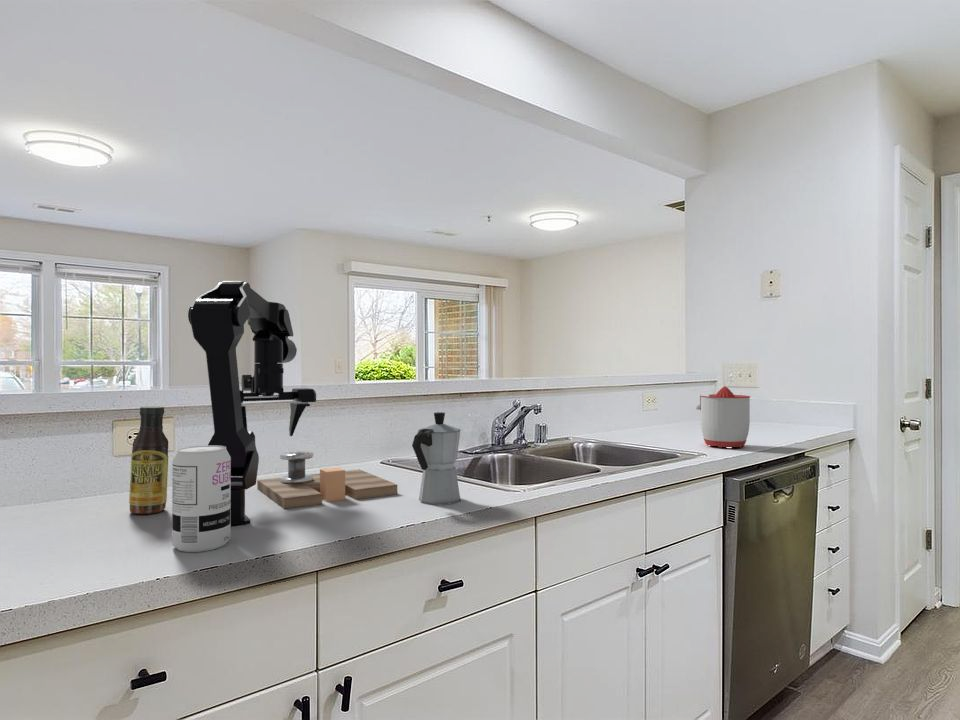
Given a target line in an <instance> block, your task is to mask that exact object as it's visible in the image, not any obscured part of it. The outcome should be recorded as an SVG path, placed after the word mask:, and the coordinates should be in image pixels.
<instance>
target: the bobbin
mask: <svg viewBox="0 0 960 720" xmlns="http://www.w3.org/2000/svg"><path fill="white" fill-rule="evenodd" d="M279 458H280V460H285V461H287V469H288V470H287V475H283V476H281V478H280V477H279V478H280V483H283V484H303V483H309V482H312V481H313V476H312V475H309V474H306V460H308V459H312V458H314V452H312V451H303V450H302V451H301V450H300V451H288V452H287V451H286V452H281V453H280V454H279Z"/></svg>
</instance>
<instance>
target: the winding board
mask: <svg viewBox="0 0 960 720" xmlns="http://www.w3.org/2000/svg"><path fill="white" fill-rule="evenodd" d="M308 475H312V476H313V481H312V482H309V483H303V484H283V483H280V478H281V477H282V476H281V477H272V478H271V477H270V478H261V479H256V485H257V487H256V488H257V490H258V491H259V492H261V493H262V494H263V495H264V496H266V497H268V499H270V500H271V501H273V502H274V503H275V504H276V505H278V506H280V507H281V508H282V509H291V508H292V509H294V508H299V507H300V508H301V507H306V506H308V507H309V506H315V505H316V506H317V505H321V504H322V503H323V499H322V494H321V493H320V472H318V473H310V474H309V473H308ZM392 495H393V496H394V495H398V484H397V483H395V482H392V481H389V480H387V479H384V478H382V477H379V476H377V475H374V474H372V473H370V472H367V471H365V470H361V469H351V470H349V469H348V470H345V496H348V497H350V498H351V499H354V500H361V499H368V498H377V497H383V496H384V497H385V496H392Z"/></svg>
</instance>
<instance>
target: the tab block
mask: <svg viewBox="0 0 960 720" xmlns="http://www.w3.org/2000/svg"><path fill="white" fill-rule="evenodd" d="M345 471H346V470H345V469H344V468H342V467H339V466H337V467H329V468H320V469H319V473H320V493H321V494H322V501H324V502H332V501H340V500H346V494H345Z"/></svg>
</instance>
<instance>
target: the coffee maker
mask: <svg viewBox="0 0 960 720" xmlns="http://www.w3.org/2000/svg"><path fill="white" fill-rule="evenodd" d="M433 415H434V424H431V425H428V426H425V427H423V428H420V429H418V430H417V431H418V432H417V434H415V435H414V437H413V440H412V444H411V447H412V449H413V451H414V454H415V456H416V458H417V462H418V465H419V466H420V468H421V470H422V475H421V476H422V477H421V483H420V490H419V495H418V500H419V502H420V503H421V504H425V503H426V505H432V504H433V505H434V506H438V505H437V504H442V505H450V504H449V503H453V504H455V503H454V502H456V503H457V501H458V502H460V501H459V500H461V495H460V487H459V481H458V475H457V468H456V466H455V462H456V461H457V460H458V452H459V445H460V437H461V428H458V427H455V426H451V425H449V424H445V423H444V421H445V415H446V412H439V411H437V412H433ZM433 505H432V506H433Z"/></svg>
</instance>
